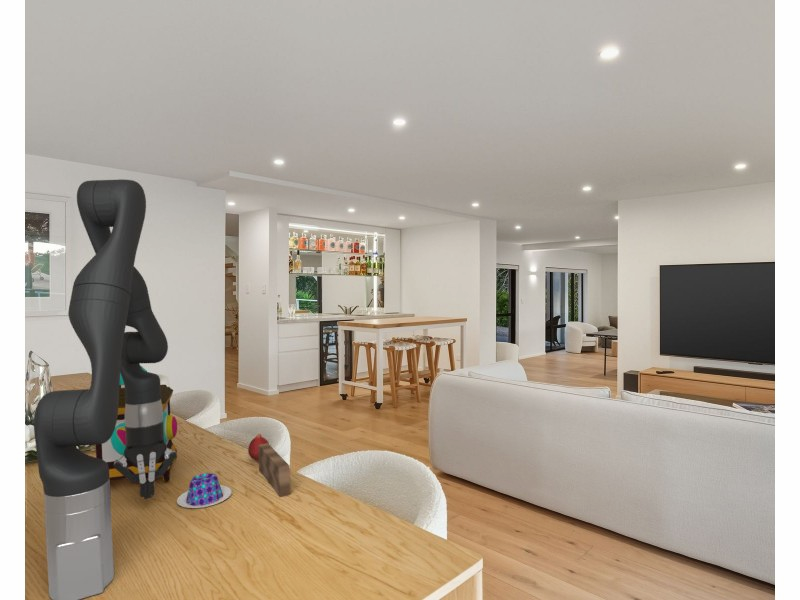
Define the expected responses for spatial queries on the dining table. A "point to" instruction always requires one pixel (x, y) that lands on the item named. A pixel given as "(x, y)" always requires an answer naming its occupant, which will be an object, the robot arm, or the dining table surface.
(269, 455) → the walnut board
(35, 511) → the dining table surface
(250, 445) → the onion
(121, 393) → the decorative lantern
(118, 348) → the robot arm
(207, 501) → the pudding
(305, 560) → the dining table surface
